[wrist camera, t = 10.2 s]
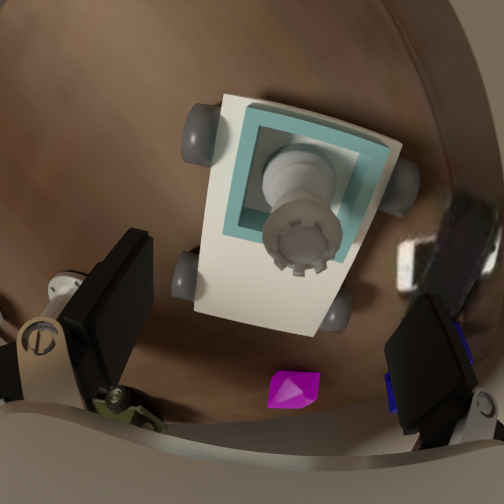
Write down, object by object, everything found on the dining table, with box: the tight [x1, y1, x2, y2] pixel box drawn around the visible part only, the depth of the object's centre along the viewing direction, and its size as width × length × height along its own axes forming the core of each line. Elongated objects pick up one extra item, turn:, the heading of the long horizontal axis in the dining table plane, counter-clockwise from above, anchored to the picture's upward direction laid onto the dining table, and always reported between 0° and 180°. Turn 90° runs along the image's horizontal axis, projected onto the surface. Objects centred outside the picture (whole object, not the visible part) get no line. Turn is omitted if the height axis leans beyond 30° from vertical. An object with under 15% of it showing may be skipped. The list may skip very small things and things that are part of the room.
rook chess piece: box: [262, 144, 343, 277], centre depth 14 cm, size 4×4×8 cm
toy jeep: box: [94, 385, 168, 433], centre depth 46 cm, size 12×25×11 cm, turn 112°
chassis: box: [171, 93, 420, 337], centre depth 20 cm, size 18×15×6 cm
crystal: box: [267, 371, 320, 408], centre depth 33 cm, size 5×5×5 cm
